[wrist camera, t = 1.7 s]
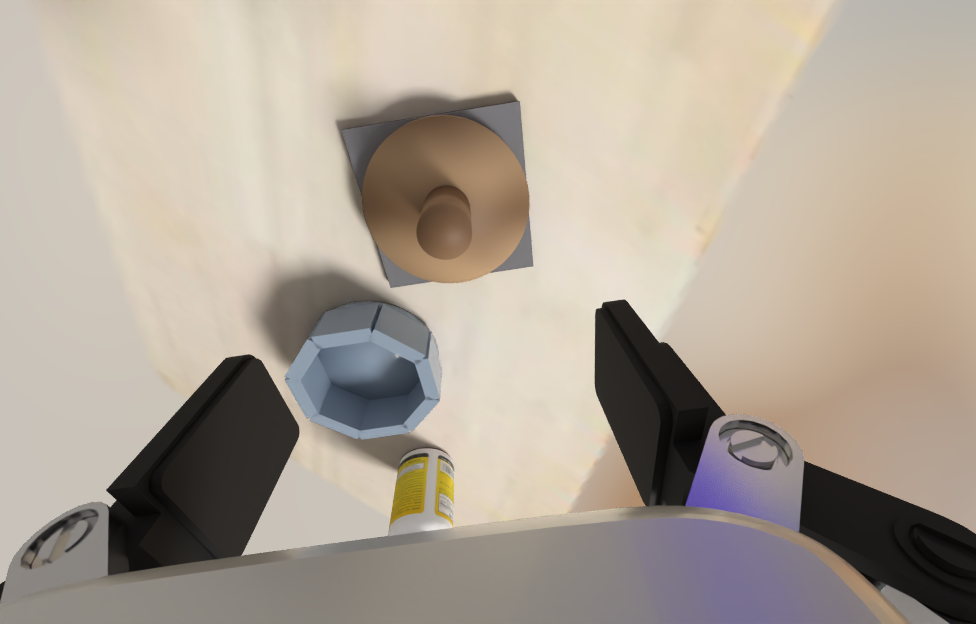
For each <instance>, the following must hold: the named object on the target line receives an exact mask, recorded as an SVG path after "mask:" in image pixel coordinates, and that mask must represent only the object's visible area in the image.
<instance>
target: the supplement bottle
mask: <svg viewBox="0 0 976 624" xmlns="http://www.w3.org/2000/svg"><path fill="white" fill-rule="evenodd" d="M453 504H454V464H453V461H452V459H451V458H450V457H449V455H447V454H446V453H444V452H443V451H440V450H437V449H431V448H423V449H417V450H413V451H411V452H409V453H407V454H406V455H405V456H404V457H403V458H402V459H401V461H400V464H399V469H398V474H397V480H396V487H395V493H394V500H393V507H392V513H391V519H390V526H389V534H388V536H393V535H400V534H408V533H416V532H423V531H431V530H439V529H447V528H453Z"/></svg>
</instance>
